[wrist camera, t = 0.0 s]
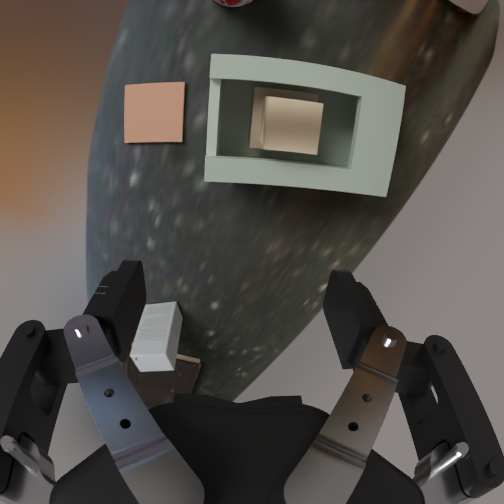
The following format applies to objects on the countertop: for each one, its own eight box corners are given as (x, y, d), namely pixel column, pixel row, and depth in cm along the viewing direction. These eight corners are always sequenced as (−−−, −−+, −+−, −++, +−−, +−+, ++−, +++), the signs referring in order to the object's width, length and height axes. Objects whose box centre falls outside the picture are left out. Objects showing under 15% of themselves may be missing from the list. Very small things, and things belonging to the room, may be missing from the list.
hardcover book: (202, 356, 58) (201, 365, 56) (183, 408, 68) (182, 415, 66) (126, 337, 55) (123, 345, 53) (123, 393, 65) (121, 400, 63)
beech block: (263, 96, 29) (268, 96, 24) (308, 101, 29) (323, 103, 24) (259, 139, 32) (264, 149, 26) (303, 144, 32) (316, 154, 27)
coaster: (126, 85, 32) (125, 85, 32) (185, 82, 33) (184, 82, 32) (126, 142, 36) (124, 142, 36) (182, 141, 37) (182, 141, 36)
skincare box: (153, 321, 52) (139, 372, 42) (145, 303, 50) (128, 354, 39) (184, 318, 52) (174, 371, 41) (177, 300, 50) (165, 353, 39)
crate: (218, 64, 32) (211, 53, 23) (369, 85, 33) (405, 86, 25) (212, 160, 38) (204, 181, 30) (355, 173, 40) (386, 197, 31)
